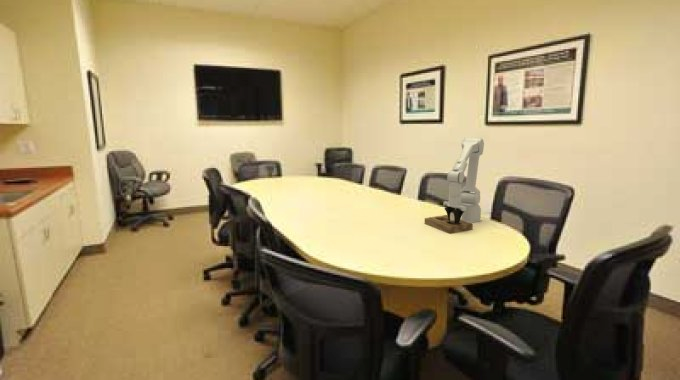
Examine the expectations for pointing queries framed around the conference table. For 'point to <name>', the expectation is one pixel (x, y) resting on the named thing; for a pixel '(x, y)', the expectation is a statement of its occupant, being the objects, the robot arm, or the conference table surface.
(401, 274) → the conference table surface
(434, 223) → the jig plate
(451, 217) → the battery
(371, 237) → the conference table surface
